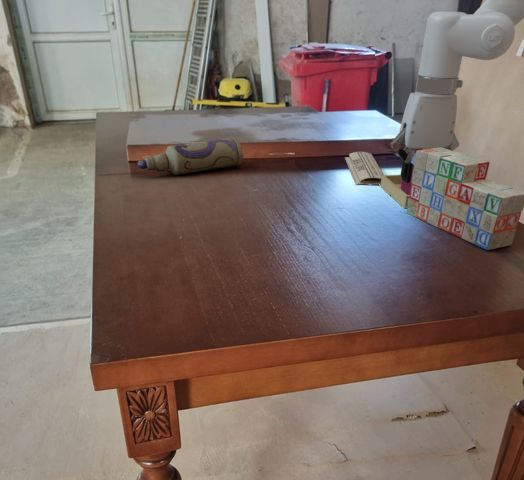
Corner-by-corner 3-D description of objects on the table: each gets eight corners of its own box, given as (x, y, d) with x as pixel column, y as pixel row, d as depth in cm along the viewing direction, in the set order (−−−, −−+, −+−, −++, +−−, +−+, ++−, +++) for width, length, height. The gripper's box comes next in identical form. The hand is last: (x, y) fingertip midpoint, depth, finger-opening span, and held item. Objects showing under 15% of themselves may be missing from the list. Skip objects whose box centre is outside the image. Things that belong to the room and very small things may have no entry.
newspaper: (386, 185, 120) (387, 177, 119) (355, 184, 120) (356, 176, 119) (371, 158, 140) (372, 151, 139) (344, 158, 140) (345, 151, 139)
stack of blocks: (512, 245, 92) (534, 174, 85) (487, 251, 90) (507, 179, 83) (429, 208, 108) (441, 145, 101) (405, 212, 105) (416, 148, 98)
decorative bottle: (230, 161, 135) (230, 134, 131) (244, 169, 130) (244, 141, 126) (133, 174, 124) (129, 144, 121) (143, 182, 119) (140, 152, 115)
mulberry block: (421, 188, 116) (426, 165, 114) (431, 195, 112) (435, 172, 109) (400, 189, 116) (404, 166, 113) (409, 196, 112) (413, 172, 109)
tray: (426, 185, 121) (428, 173, 120) (455, 206, 109) (458, 194, 108) (379, 186, 119) (381, 175, 118) (404, 208, 108) (406, 195, 106)
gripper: (467, 84, 106) (447, 174, 117) (387, 83, 104) (374, 176, 114) (485, 89, 100) (463, 185, 111) (401, 89, 98) (386, 186, 108)
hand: (418, 179), depth 112 cm, fingers closed on mulberry block, 5 cm apart
